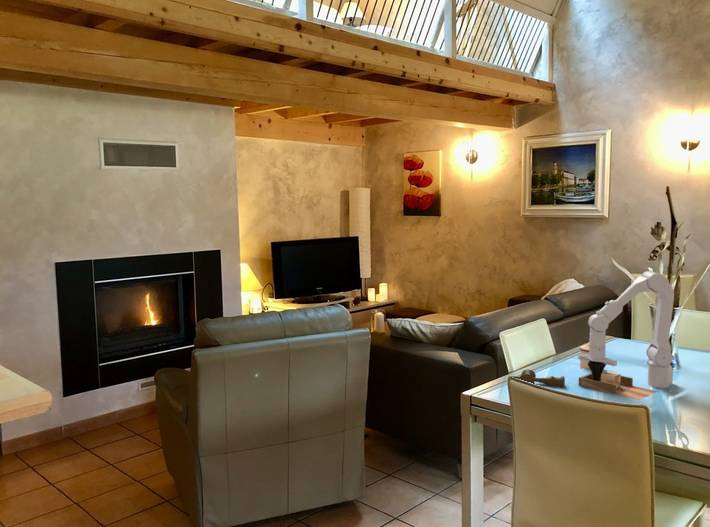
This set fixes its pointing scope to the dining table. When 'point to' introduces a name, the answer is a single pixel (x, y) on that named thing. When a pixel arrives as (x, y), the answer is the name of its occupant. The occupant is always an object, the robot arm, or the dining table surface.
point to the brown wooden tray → (623, 390)
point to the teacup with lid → (584, 350)
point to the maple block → (611, 378)
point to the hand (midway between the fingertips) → (596, 380)
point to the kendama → (541, 379)
